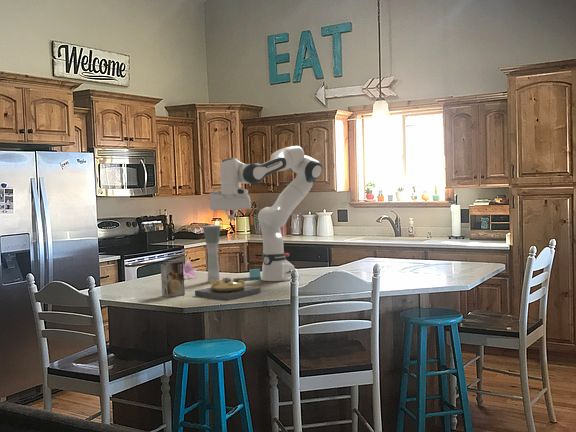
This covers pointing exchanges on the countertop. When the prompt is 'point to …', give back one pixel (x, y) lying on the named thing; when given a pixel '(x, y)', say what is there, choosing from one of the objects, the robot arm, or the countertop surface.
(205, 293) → the dark grey square slab
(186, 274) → the lily
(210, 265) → the container
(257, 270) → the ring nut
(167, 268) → the coffee box
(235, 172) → the robot arm
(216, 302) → the countertop surface
